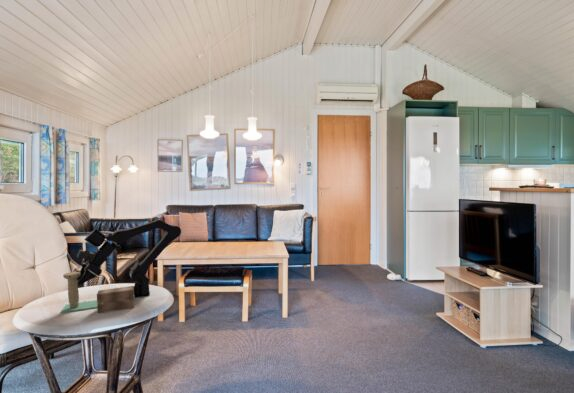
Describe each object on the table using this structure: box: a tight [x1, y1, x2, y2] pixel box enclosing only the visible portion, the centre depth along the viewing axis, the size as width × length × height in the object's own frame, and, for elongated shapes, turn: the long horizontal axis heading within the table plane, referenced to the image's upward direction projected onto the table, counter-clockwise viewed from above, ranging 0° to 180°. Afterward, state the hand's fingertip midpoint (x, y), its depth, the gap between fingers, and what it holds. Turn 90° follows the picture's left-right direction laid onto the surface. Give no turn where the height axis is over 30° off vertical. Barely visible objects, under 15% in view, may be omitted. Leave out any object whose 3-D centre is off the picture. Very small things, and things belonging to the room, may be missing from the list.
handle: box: [62, 271, 80, 308], centre depth 154 cm, size 5×6×15 cm
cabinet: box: [96, 285, 135, 314], centre depth 152 cm, size 14×8×8 cm, turn 111°
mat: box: [60, 299, 98, 314], centre depth 156 cm, size 14×10×1 cm
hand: (77, 282), depth 154 cm, fingers open, 9 cm apart
